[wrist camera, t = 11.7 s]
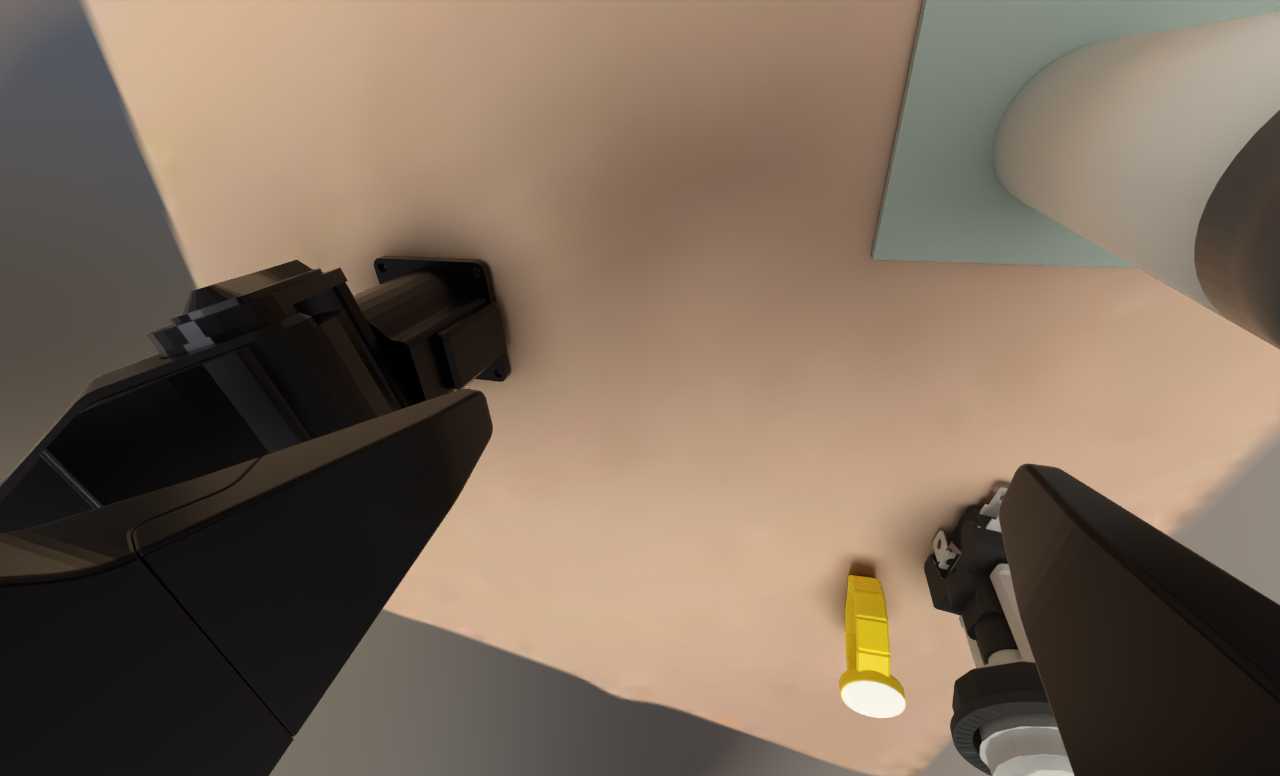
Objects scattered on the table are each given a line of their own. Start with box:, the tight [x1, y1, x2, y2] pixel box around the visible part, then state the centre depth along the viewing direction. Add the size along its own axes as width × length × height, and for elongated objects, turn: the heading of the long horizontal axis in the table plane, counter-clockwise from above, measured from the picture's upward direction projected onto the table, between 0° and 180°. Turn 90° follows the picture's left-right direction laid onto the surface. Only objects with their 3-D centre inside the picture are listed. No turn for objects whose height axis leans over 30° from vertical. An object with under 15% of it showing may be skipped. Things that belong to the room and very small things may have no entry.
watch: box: [839, 575, 906, 718], centre depth 24 cm, size 6×3×6 cm, turn 9°
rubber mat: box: [871, 0, 1280, 268], centre depth 14 cm, size 10×8×1 cm
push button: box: [924, 487, 1074, 776], centre depth 18 cm, size 7×5×10 cm
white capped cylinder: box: [993, 12, 1280, 349], centre depth 9 cm, size 4×4×12 cm
